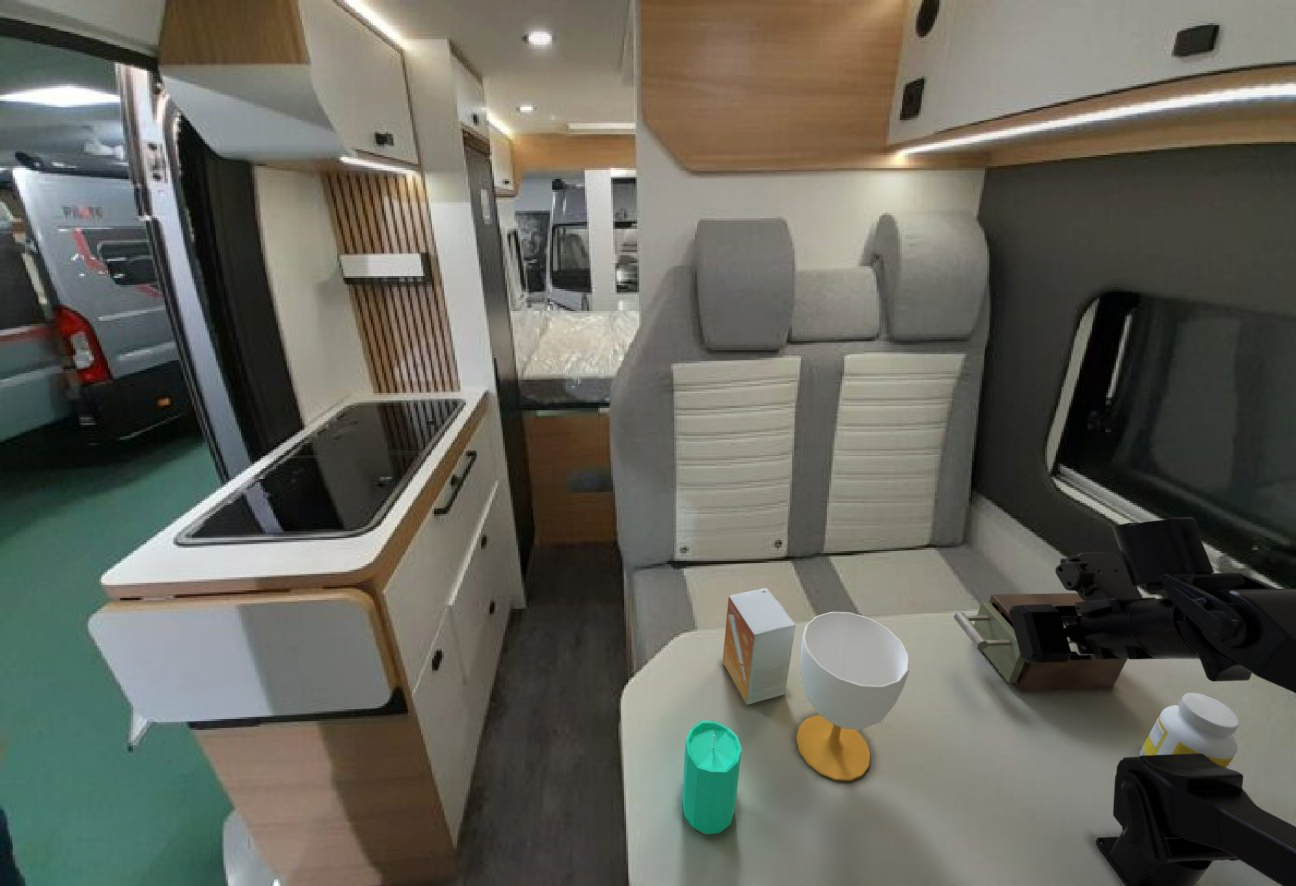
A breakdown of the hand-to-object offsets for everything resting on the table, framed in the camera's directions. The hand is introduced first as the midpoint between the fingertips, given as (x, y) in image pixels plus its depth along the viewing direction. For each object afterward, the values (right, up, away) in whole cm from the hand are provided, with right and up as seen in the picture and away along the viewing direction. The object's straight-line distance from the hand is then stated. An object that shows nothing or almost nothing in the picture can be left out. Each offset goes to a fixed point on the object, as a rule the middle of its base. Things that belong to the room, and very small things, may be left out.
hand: (1045, 633), depth 69 cm
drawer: (+4, -8, +12) cm, 15 cm away
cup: (-28, -15, 0) cm, 31 cm away
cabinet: (+9, -9, +13) cm, 18 cm away
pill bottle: (+12, -16, -3) cm, 21 cm away
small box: (-36, -10, +10) cm, 39 cm away
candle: (-44, -17, -7) cm, 48 cm away
